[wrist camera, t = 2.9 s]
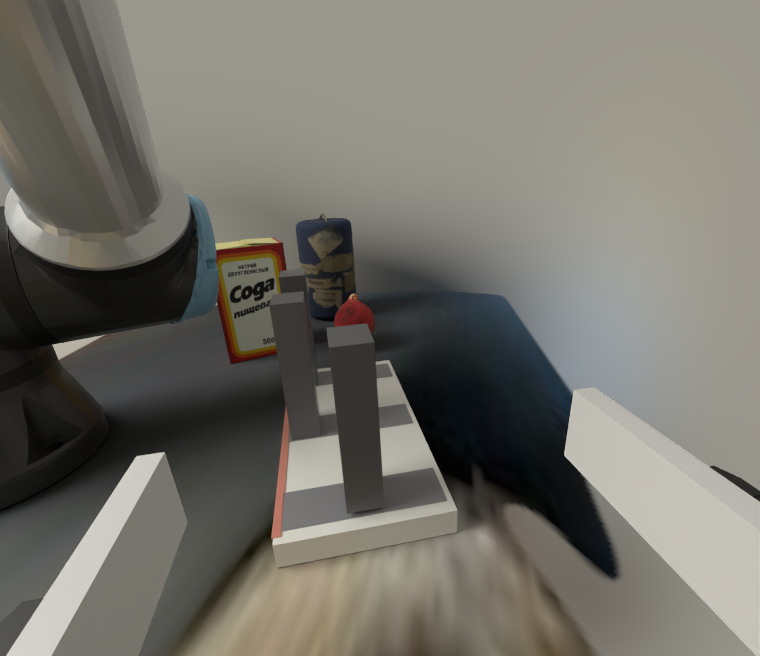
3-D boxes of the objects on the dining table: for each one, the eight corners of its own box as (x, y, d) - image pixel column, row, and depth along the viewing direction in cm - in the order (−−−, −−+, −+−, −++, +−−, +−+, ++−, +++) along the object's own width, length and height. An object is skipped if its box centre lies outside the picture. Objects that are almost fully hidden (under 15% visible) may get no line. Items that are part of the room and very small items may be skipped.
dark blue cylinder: (304, 324, 65) (289, 217, 58) (308, 307, 73) (296, 213, 67) (358, 320, 65) (350, 214, 59) (356, 304, 74) (349, 209, 67)
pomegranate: (364, 357, 51) (360, 302, 48) (329, 351, 54) (323, 298, 51) (382, 341, 56) (379, 290, 53) (349, 336, 59) (345, 287, 56)
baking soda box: (230, 364, 52) (205, 248, 46) (227, 347, 57) (203, 242, 51) (297, 348, 55) (282, 239, 49) (288, 334, 61) (273, 235, 55)
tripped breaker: (384, 506, 25) (374, 342, 20) (347, 513, 24) (328, 347, 20) (376, 474, 27) (366, 323, 23) (343, 480, 27) (326, 327, 23)
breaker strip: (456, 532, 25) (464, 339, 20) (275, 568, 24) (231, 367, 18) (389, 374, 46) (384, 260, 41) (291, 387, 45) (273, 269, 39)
